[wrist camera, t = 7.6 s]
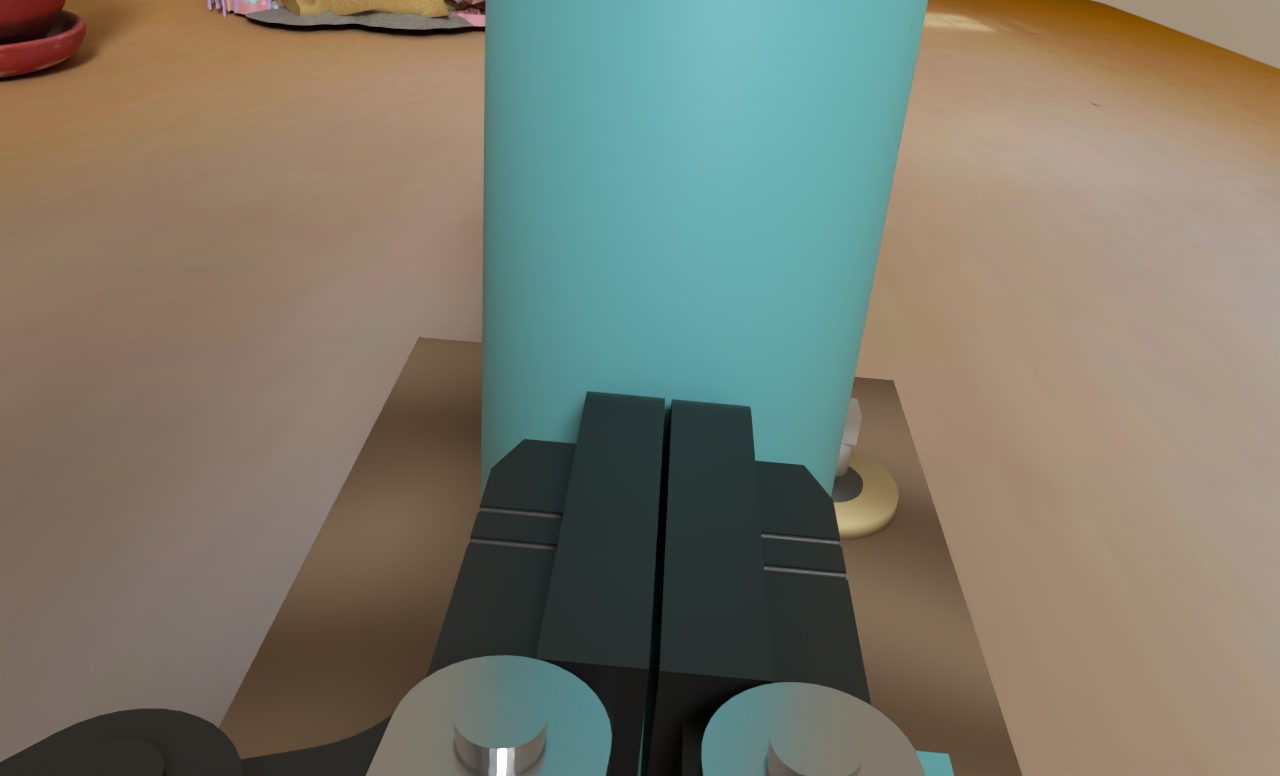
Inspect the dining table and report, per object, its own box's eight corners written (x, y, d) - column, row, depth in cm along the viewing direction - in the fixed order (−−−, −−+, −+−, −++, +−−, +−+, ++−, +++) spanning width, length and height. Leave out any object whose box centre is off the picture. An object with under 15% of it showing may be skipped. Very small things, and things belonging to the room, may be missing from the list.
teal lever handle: (960, 989, 14) (1620, -859, 6) (452, 942, 14) (436, -956, 6) (907, 745, 17) (1277, -617, 9) (502, 707, 17) (534, -681, 9)
